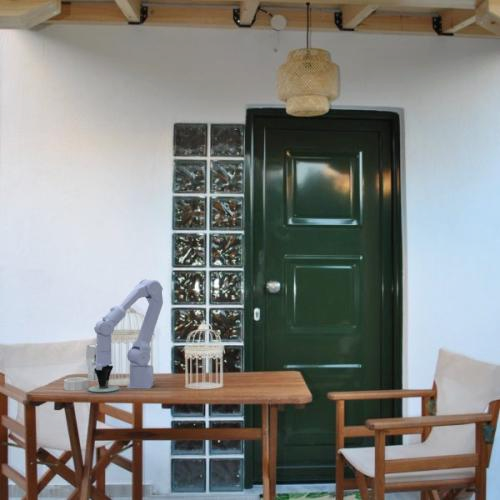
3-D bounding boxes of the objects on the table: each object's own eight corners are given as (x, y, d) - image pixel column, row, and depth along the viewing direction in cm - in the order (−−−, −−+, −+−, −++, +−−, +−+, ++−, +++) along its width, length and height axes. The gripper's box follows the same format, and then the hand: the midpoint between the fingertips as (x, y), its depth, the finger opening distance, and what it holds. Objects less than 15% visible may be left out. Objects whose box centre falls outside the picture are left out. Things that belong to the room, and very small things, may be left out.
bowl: (90, 387, 264) (90, 377, 264) (83, 391, 255) (83, 381, 255) (68, 387, 264) (68, 377, 264) (61, 391, 255) (61, 381, 255)
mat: (123, 388, 262) (123, 387, 262) (115, 394, 249) (115, 393, 249) (92, 387, 263) (92, 386, 263) (82, 394, 250) (82, 393, 250)
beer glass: (98, 382, 274) (98, 346, 274) (83, 381, 275) (83, 346, 276) (105, 379, 281) (105, 344, 281) (90, 378, 282) (90, 344, 283)
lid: (122, 386, 262) (122, 377, 262) (115, 392, 250) (115, 383, 250) (92, 386, 262) (93, 377, 262) (84, 392, 250) (84, 383, 250)
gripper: (98, 348, 263) (98, 381, 263) (88, 353, 249) (88, 388, 249) (116, 348, 263) (115, 382, 263) (106, 353, 249) (106, 389, 248)
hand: (103, 385), depth 256 cm, fingers closed on lid, 4 cm apart
